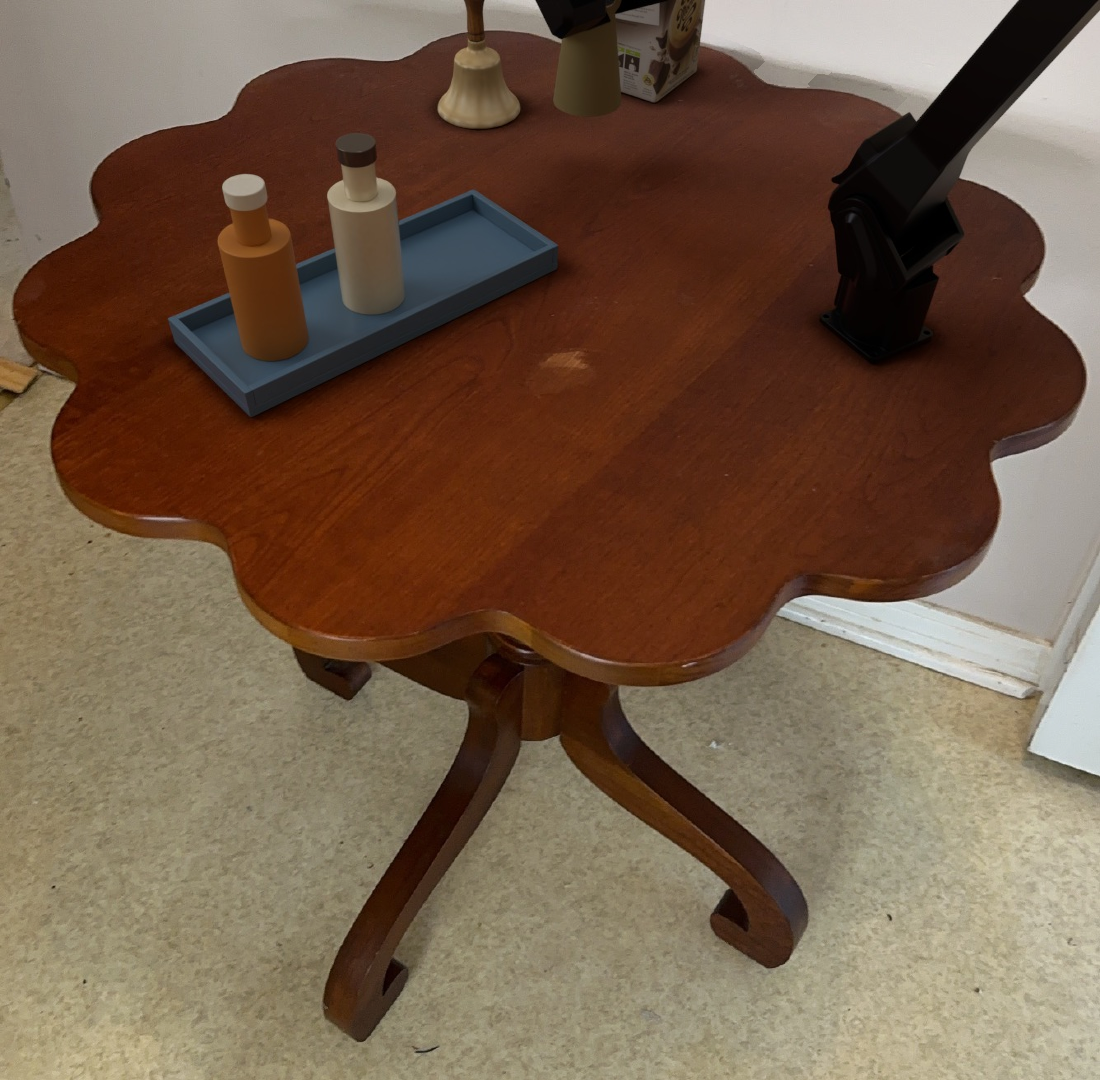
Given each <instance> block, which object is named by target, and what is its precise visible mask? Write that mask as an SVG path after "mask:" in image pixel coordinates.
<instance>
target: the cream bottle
mask: <svg viewBox="0 0 1100 1080" xmlns="http://www.w3.org/2000/svg"><path fill="white" fill-rule="evenodd" d="M376 141H377V140H376V138H374V136H372V135H370V134H368V133H363V132H351V133H346V134H343V135H341V136H340V137H338V138H337V139H336V141H335V149H336V157H337V158H336V159H337V161H338V163H339V164H340V165H341V166H340V167H341V174H342V180H339V181H337V182H336V183H334V184H333V185H332V186H331V187H330V188H329V189H328V191H327V194H326V197H327V204H328V212H329V219H330V225H331V233H332V239H333V240H332V241H333V246H334V248H335V254H336V261H337V268H338V275H339V282H340V289H341V296H342V301H343V303H344V305H345V306H346V307H347V308H348V309H350V310H352V311H354V312H357V313H360V314H366V315H376V314H383V313H386V312H389V311H392V310H394V309H395V308H397V307H398V306H400V305H401V303H402V302H403V301H404V298H405V286H404V275H403V264H402V253H401V242H400V231H399V221H400V220H399V211H398V199H397V191H396V187H394V185H393V184H392V183H391V182H389V181H388V180H386V179H383V178H381V177H377V167H376V161H377V159H378V153H377V142H376Z"/></svg>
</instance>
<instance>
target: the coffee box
mask: <svg viewBox="0 0 1100 1080" xmlns="http://www.w3.org/2000/svg"><path fill="white" fill-rule="evenodd" d="M705 5H706V0H669V1H666V2H662V3H658V4H654V5H650V6H646V7H642V8H638V9H634V10H630V11H626V12H622V13H618V14H615V17H616V31H617V45H618V59H619V73H620V87H621V93H623V94H626V95H629V96H632V97H636V98H639V99H642V100H645V101H647V102H650V103H658V102H659V101H661V100H662V99H663V98H664V97H666V96H667V94H669V93H671V91H673V90H674V89H676V88H677V87H678V86H680V85H681V84H682V83H683V82H685V81H686V80H687V79H688V78H690V77H691V76H693V75H694V74H695V73H697V71H698V64H699V63H698V62H699V55H700V47H701V37H702V31H703V23H704V14H705V7H706V6H705Z"/></svg>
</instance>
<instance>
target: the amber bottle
mask: <svg viewBox="0 0 1100 1080" xmlns="http://www.w3.org/2000/svg"><path fill="white" fill-rule="evenodd" d="M221 189H222V193H223V197H224V198H223V199H224V202H225V205H226V206H227V207H228V209H229V211H230V216H231V220H232V222H231V223H230V224H229V225H227V226H226V227H224V228H223V229H222V230H221V231H220V232H219V234H218V236H217V246H218V250H219V255H220V259H221V262H222V266H223V271H224V276H225V280H226V284H227V288H228V293H230V298H231V302H232V306H233V310H234V315H235V319H236V323H237V327H238V332H239V336H240V340H241V344H242V348H243V350H244V351H245V352H246V353H247V354H248V355H249V356H251V357H253V358H255V359H258V360H263V361H279V360H284V359H288V358H290V357H293V356H295V355H297V354H298V353H300V352H301V351H302V350H303V349H304V348H305V347H306V345H307V343H308V340H309V335H308V329H307V324H306V318H305V312H304V307H303V301H302V295H301V290H300V284H299V278H298V273H297V267H296V264H297V262H296V256H295V249H294V245H293V241H292V239H293V238H292V234H291V230H290V229H289V228H288V226H287V225H286V224H285V223H284V222H282V221H279V220H276V219H274V218H269V213H268V208H267V204H266V203H267V202H268V192H267V187H266V183H265V180H264V179H263V178H262V177H260V176H258V175H256V174H250V173H242V174H237V175H233V176H230V177H229V178H227V179H226V180H224V181H223V183H222V186H221Z"/></svg>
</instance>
